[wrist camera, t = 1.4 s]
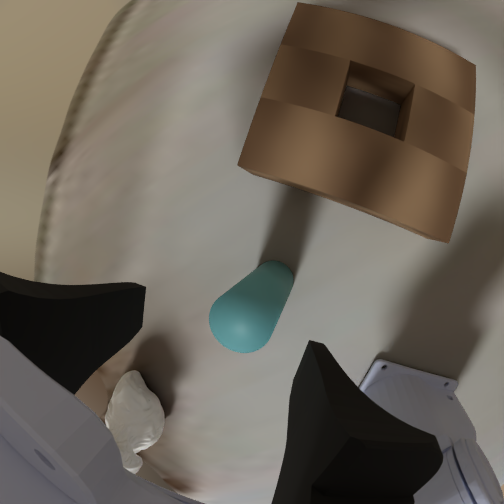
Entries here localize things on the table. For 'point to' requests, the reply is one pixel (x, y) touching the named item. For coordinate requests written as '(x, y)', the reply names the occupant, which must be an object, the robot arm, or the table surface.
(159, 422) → the bust
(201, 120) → the table surface
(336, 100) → the hole block
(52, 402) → the robot arm
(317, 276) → the table surface
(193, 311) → the table surface
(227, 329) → the peg
